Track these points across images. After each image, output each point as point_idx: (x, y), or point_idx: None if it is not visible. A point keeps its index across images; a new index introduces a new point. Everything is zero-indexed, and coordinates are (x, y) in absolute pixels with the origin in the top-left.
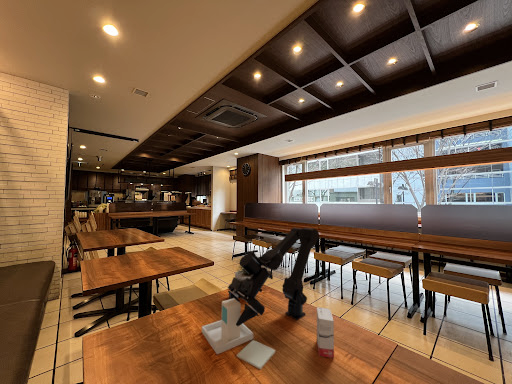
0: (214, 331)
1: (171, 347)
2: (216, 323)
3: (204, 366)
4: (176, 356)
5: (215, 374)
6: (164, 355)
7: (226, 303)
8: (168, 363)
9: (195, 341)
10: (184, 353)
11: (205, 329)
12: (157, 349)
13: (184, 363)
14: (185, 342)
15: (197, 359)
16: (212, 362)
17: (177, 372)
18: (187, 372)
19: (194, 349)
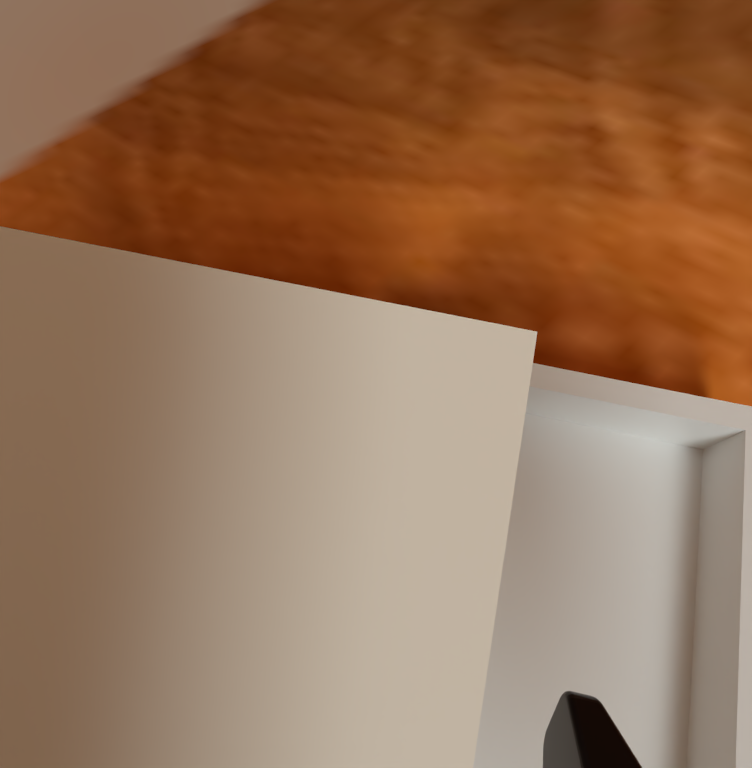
0: (622, 573)
1: (677, 101)
2: (729, 665)
3: (206, 182)
4: (517, 82)
5: (49, 198)
6: (604, 25)
7: (87, 383)
8: (480, 12)
9: (609, 302)
10: (504, 143)
11: (661, 408)
12: (730, 15)
13: (380, 90)
14: (666, 221)
15: (335, 184)
16: (185, 256)
17: (330, 19)
18: (266, 65)
19: (489, 231)
